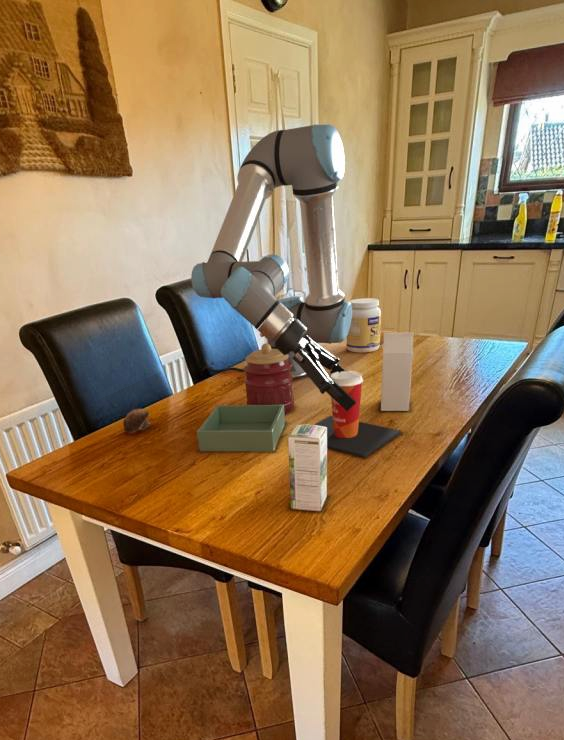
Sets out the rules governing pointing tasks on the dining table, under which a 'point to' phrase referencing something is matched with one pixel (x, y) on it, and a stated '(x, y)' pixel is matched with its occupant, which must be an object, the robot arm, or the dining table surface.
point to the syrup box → (308, 467)
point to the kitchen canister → (269, 378)
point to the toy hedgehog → (136, 420)
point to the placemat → (358, 438)
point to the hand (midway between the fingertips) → (352, 396)
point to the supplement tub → (364, 326)
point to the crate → (242, 428)
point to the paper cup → (349, 420)
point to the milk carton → (396, 371)
